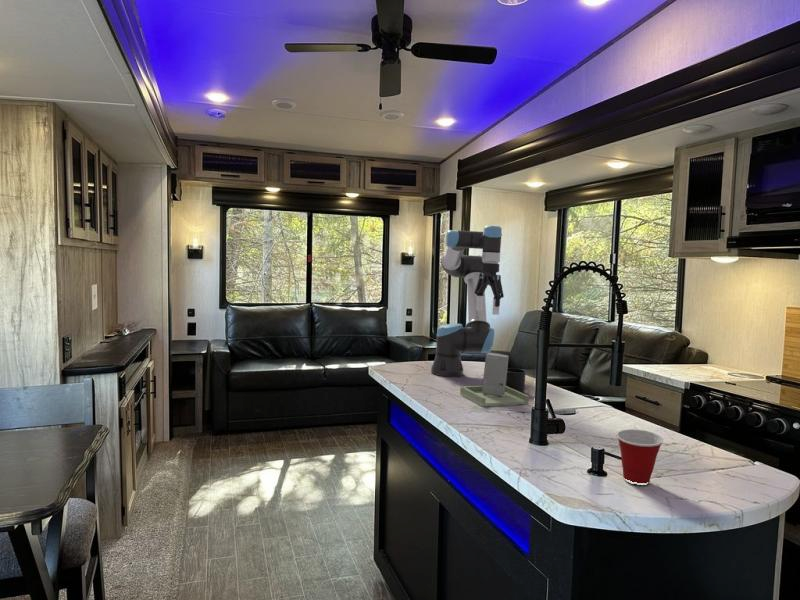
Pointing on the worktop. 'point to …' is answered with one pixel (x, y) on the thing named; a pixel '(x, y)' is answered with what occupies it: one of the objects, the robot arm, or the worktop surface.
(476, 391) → the sage green tray
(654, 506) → the worktop surface
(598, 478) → the worktop surface
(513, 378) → the mug
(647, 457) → the plastic cup
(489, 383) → the skincare box
